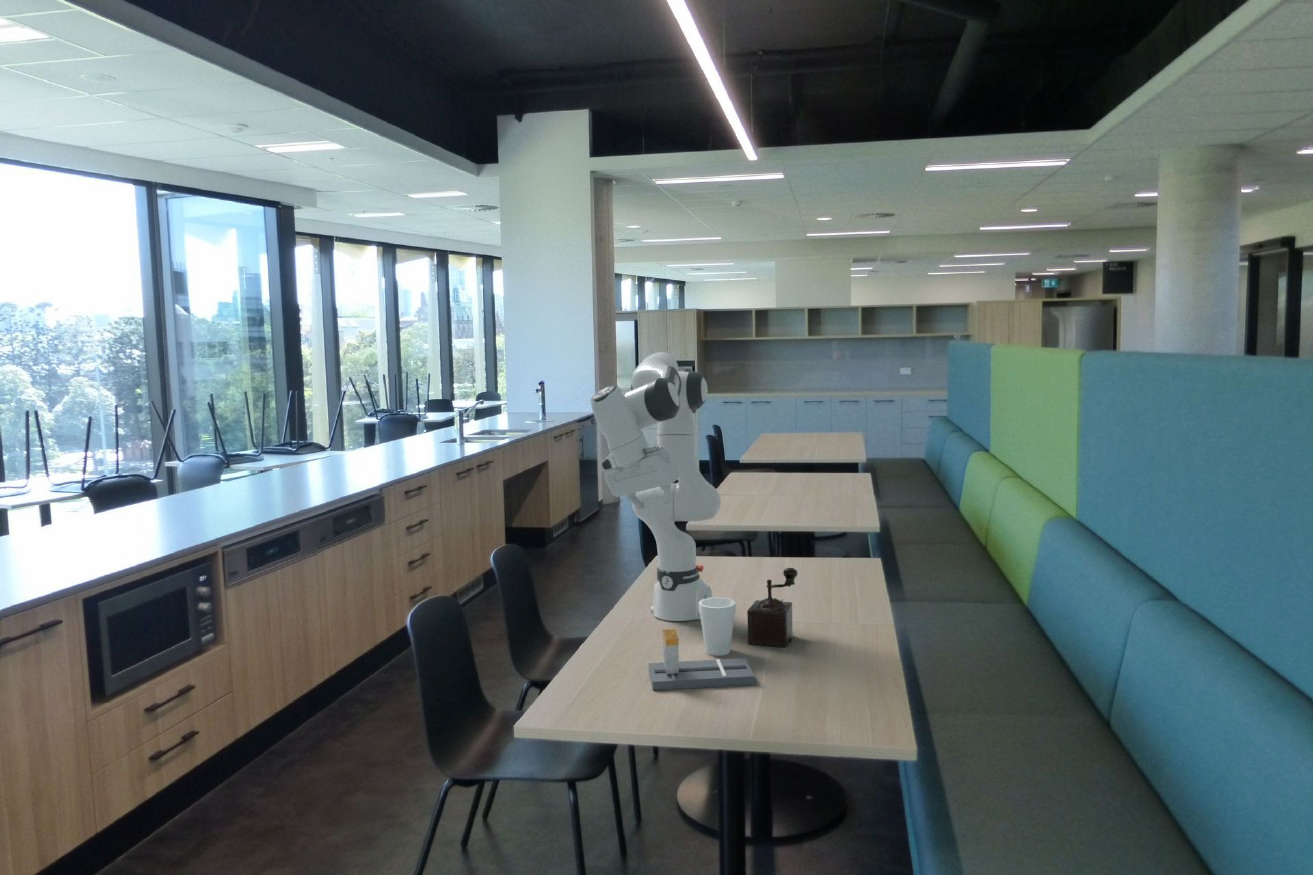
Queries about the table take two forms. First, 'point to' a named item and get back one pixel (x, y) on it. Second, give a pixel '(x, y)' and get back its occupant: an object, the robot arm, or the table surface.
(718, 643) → the foam cup
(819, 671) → the table surface
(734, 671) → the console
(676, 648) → the plate
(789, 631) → the manual coffee grinder
